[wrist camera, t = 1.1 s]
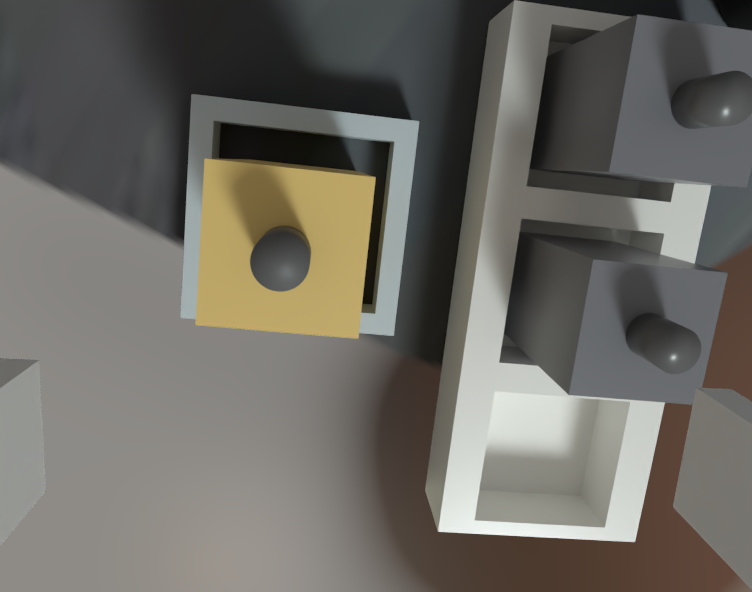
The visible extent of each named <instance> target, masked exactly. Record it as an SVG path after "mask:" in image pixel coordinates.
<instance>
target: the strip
mask: <svg viewBox="0 0 752 592" xmlns="http://www.w3.org/2000/svg"><path fill="white" fill-rule="evenodd" d="M751 168H752V31H751V30H744V29H737V28H730V27H723V26H716V25H709V24H702V23H695V22H688V21H681V20H674V19H667V18H660V17H653V16H646V15H639V14H637V15H635V16H633V17H629V16H622V15H615V14H608V13H601V12H594V11H587V10H580V9H573V8H566V7H559V6H552V5H545V4H538V3H531V2H524V1H516V0H514V1H513V2H512V3H511V4H509V5H508V6H507V7H506V8H505V9H503V10H502V11H501V12H500V13H499V14H497V15H496V16H495V17H494V18H493V19H492V20H490V21H489V26H488V34H487V41H486V48H485V56H484V63H483V70H482V77H481V85H480V92H479V99H478V107H477V114H476V121H475V129H474V136H473V143H472V150H471V158H470V165H469V172H468V180H467V187H466V194H465V202H464V209H463V216H462V224H461V231H460V238H459V245H458V253H457V260H456V267H455V275H454V282H453V289H452V297H451V304H450V311H449V319H448V326H447V333H446V340H445V348H444V355H443V362H442V370H441V377H440V384H439V392H438V399H437V406H436V414H435V421H434V428H433V435H432V443H431V450H430V457H429V465H428V472H427V479H426V487H425V491H426V494H427V497H428V500H429V504H430V507H431V510H432V513H433V517H434V520H435V523H436V526H437V529H438V532H456V533H475V534H493V535H512V536H532V537H550V538H568V539H588V540H606V541H625V542H635V539H636V534H637V530H638V525H639V520H640V516H641V511H642V506H643V502H644V497H645V492H646V487H647V483H648V478H649V474H650V469H651V464H652V460H653V455H654V450H655V446H656V441H657V436H658V432H659V427H660V422H661V417H662V413H663V408H664V404H665V403H678V404H691V405H693V402H694V397H695V392H696V388H702V385H703V381H704V376H705V372H706V367H707V363H708V358H709V354H710V349H711V345H712V341H713V336H714V332H715V327H716V323H717V318H718V314H719V310H720V305H721V301H722V296H723V292H724V287H725V283H726V279H727V274H728V273H726V272H723V271H719V270H716V269H712V268H708V267H705V266H701V265H697V264H695V259H696V254H697V250H698V245H699V240H700V236H701V231H702V226H703V222H704V217H705V212H706V208H707V203H708V198H709V194H710V189H711V185H712V186H727V187H743V188H747V186H748V181H749V177H750V172H751Z"/></svg>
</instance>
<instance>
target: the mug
mask: <svg viewBox="0 0 752 592" xmlns="http://www.w3.org/2000/svg"><path fill="white" fill-rule="evenodd" d="M717 2H718V6H719V9H720V12H721V14H722V16H723V18H724V20H725V22H726V24H727V25H728V26H729V27H730V28H737V29H744V30H751V31H752V0H717Z"/></svg>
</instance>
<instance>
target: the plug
mask: <svg viewBox="0 0 752 592" xmlns="http://www.w3.org/2000/svg"><path fill="white" fill-rule="evenodd" d="M375 180H376V177H373V176H370V175H367V174H364V173H361V172H357V171H351V170H342V169H333V168H324V167H315V166H306V165H297V164H288V163H279V162H270V161H261V160H252V159H209V158H205V159H204V177H203V196H202V215H201V233H200V252H199V271H198V289H197V308H196V325H201V326H212V327H224V328H237V329H248V330H260V331H272V332H284V333H296V334H308V335H320V336H332V337H344V338H356V339H358V338H359V328H360V319H361V310H362V300H363V291H364V282H365V273H366V263H367V254H368V245H369V235H370V226H371V217H372V208H373V198H374V189H375Z"/></svg>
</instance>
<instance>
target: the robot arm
mask: <svg viewBox="0 0 752 592" xmlns="http://www.w3.org/2000/svg"><path fill="white" fill-rule="evenodd" d="M45 491H46V484H45V465H44V446H43V428H42V410H41V389H40V371H39V360H24V359H23V360H22V359H0V546H1V545H2V543H3V542H4V541H5V540H6V538H7V537H8V536H9V535H10V534H11V532H12V531H13V530H14V529H15V528H16V526H17V525H18V524H19V523H20V521H21V520H22V519H23V518H24V517H25V516H26V514H27V513H28V512H29V511H30V510H31V508H32V507H33V506H34V505H35V504H36V502H37V501H38V500H39V499H40V497H41V496H42V495H43V494H44V493H45ZM673 507H674V508H675V509H676V510H677V512H678V513H679V514H680V515H681V516H682V517H683V518H684V519H685V520H686V521H687V522H688V523H689V524H690V525H691V526H692V527H693V528H694V529H695V530H696V532H698V534H699V535H700V536H701V537H702V538H703V539H704V540H705V541H706V542H707V543H708V544H709V545H710V546H711V547H712V548H713V549H714V550H715V552H717V553H718V555H719V556H720V557H721V558H722V559H723V560H724V561H725V562H726V563H727V564H728V565H729V566H730V567H731V568H732V569H733V570H734V571H735V572H736V574H738V576H739V577H740V578H741V579H742V580H743V581H744V582H745V583H746V584H747V585H748V586H749V587H750V588H751V589H752V402H751V401H750V400H748V399H747V398H745V397H743V396H741V395H740V394H738V393H737V392H735V391H733V390H732V389H712V388H696V392H695V397H694V402H693V407H692V413H691V417H690V423H689V428H688V433H687V438H686V443H685V449H684V453H683V458H682V463H681V468H680V474H679V479H678V484H677V489H676V494H675V499H674V504H673Z"/></svg>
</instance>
